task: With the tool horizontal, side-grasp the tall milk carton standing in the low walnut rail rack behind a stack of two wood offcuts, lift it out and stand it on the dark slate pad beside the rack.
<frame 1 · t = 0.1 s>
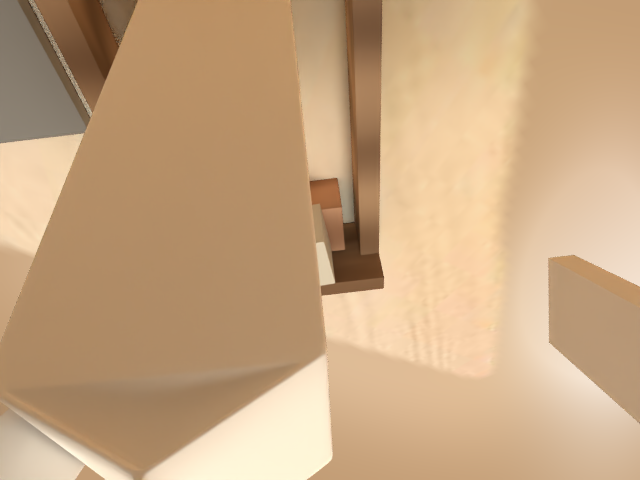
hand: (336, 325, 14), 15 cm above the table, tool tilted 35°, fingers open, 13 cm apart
rack: (253, 127, 27), on the table
offcut top: (270, 235, 30), point 3 cm above the table, touching offcut low
offcut low: (272, 204, 32), resting in rack, touching offcut top
milk: (230, 31, 23), on the table, touching gripper
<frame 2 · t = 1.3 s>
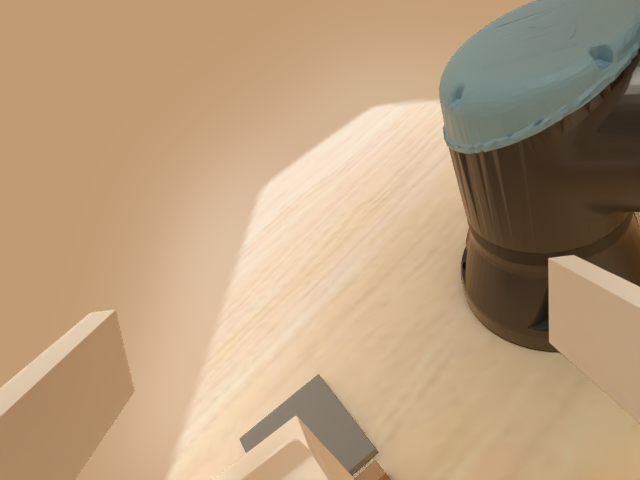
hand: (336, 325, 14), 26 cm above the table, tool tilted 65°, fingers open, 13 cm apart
slate pad: (306, 447, 40), on the table
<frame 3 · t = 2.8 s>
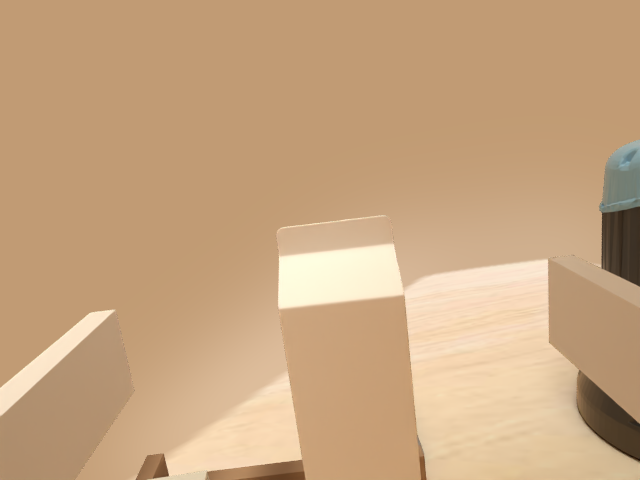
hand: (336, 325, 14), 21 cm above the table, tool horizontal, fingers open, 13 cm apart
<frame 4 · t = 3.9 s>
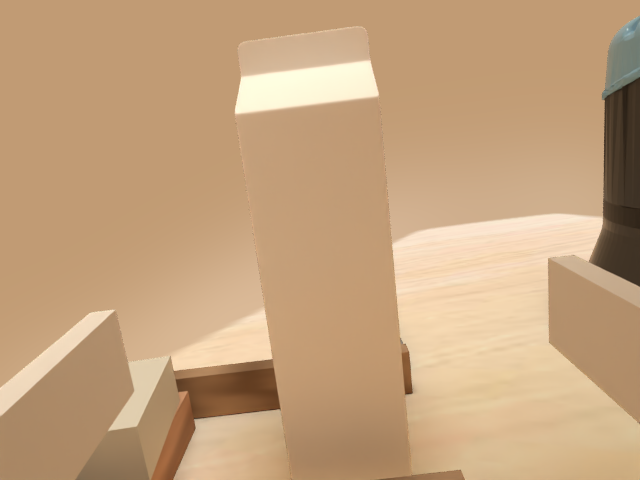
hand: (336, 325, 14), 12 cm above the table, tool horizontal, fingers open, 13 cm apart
rack: (253, 467, 26), on the table
offcut top: (129, 441, 26), point 3 cm above the table, touching offcut low
milk: (351, 458, 26), on the table
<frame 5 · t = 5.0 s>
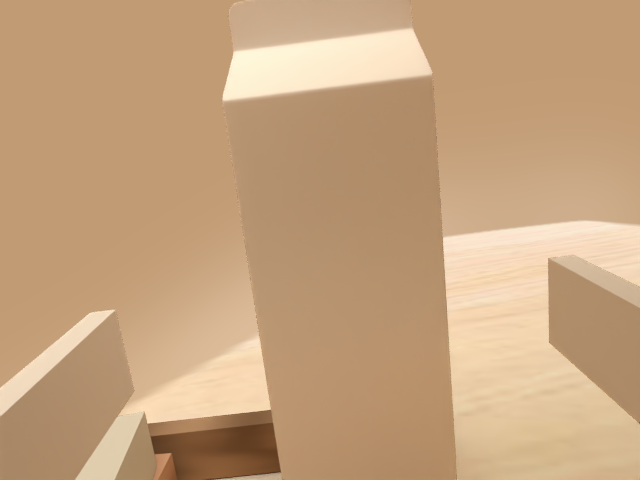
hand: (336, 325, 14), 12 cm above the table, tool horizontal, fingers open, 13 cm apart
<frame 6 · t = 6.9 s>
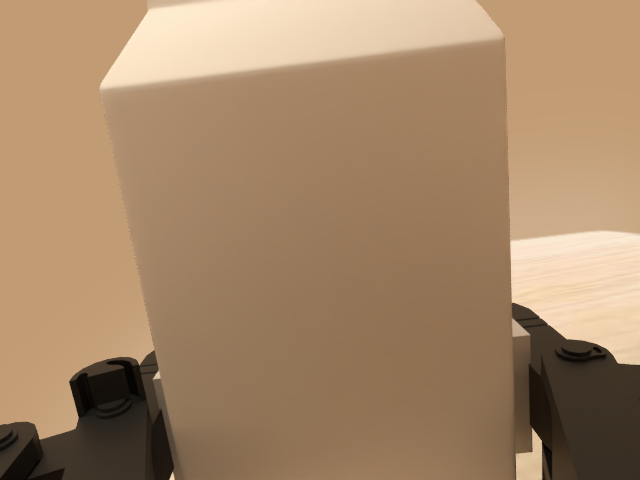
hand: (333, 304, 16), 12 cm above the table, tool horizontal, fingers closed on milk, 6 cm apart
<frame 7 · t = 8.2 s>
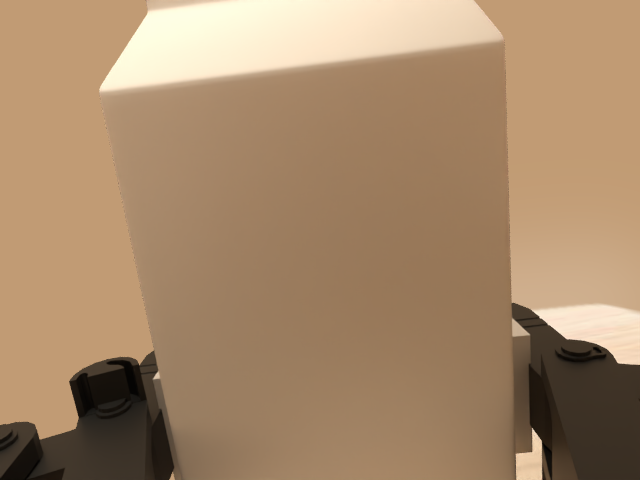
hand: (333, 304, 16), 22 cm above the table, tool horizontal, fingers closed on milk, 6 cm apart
when the fingers open (14 cm above the table, at t = 12.2 s): milk drops 1 cm, resting on slate pad.
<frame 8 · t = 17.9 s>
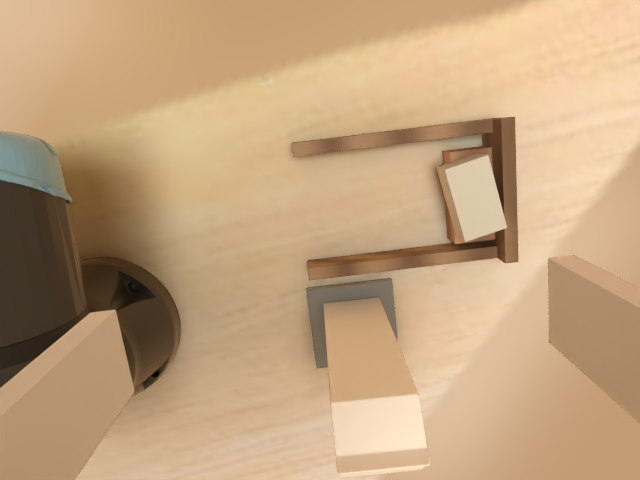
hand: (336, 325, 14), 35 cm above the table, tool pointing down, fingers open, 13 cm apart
rack: (398, 197, 49), on the table
slate pad: (353, 322, 52), on the table
offcut top: (466, 194, 46), point 3 cm above the table
offcut low: (463, 192, 49), resting in rack
milk: (353, 325, 51), point 1 cm above the table, touching slate pad
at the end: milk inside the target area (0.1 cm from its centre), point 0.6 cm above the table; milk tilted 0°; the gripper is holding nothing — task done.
